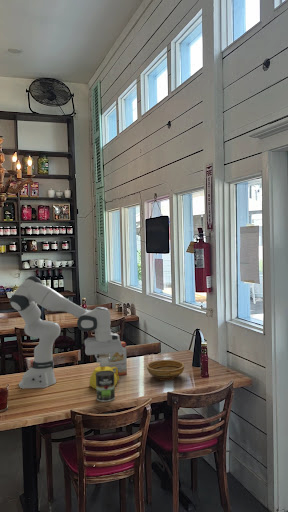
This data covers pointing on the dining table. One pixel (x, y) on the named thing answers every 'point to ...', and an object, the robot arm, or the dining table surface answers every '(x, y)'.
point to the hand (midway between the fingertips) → (104, 361)
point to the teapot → (93, 376)
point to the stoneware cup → (104, 360)
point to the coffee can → (105, 386)
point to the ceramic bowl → (165, 369)
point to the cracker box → (119, 361)
